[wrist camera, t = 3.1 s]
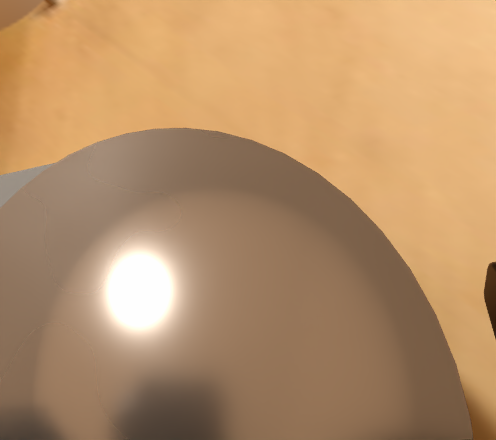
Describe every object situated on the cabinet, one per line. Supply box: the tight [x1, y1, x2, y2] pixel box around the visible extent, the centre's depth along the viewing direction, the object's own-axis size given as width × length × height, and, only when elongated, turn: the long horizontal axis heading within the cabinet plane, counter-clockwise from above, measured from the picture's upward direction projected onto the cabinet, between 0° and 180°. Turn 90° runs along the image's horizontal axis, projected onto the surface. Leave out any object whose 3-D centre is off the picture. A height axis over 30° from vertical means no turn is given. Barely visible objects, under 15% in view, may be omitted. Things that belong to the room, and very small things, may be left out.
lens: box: [0, 128, 473, 440], centre depth 9 cm, size 5×5×13 cm
